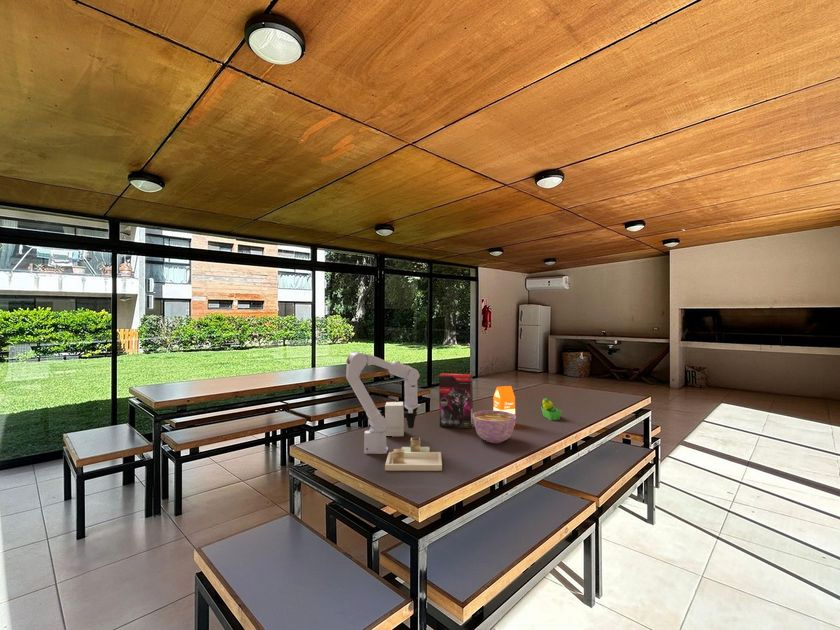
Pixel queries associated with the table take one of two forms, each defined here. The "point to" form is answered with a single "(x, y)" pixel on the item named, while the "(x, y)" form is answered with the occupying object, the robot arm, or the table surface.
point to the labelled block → (415, 444)
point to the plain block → (398, 456)
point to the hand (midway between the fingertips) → (411, 425)
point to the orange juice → (504, 399)
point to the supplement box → (394, 418)
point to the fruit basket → (550, 410)
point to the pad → (422, 449)
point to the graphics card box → (456, 400)
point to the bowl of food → (494, 425)
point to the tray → (416, 462)
